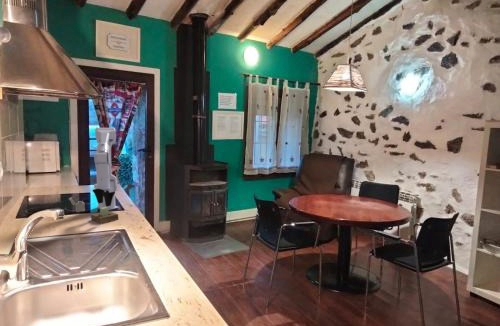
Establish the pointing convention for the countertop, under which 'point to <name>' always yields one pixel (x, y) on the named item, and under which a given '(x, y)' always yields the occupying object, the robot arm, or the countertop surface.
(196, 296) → the countertop surface
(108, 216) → the brown square frame
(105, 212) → the sage peg
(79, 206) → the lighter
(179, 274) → the countertop surface
